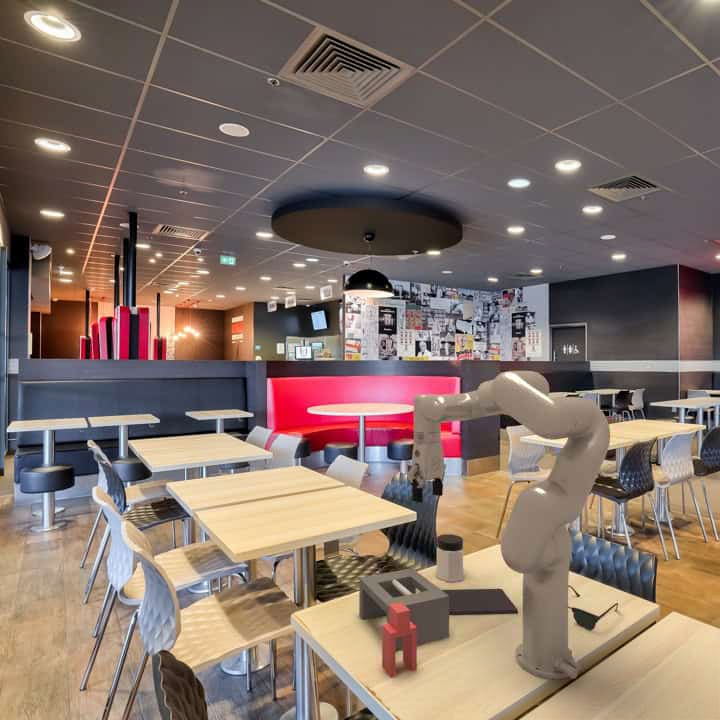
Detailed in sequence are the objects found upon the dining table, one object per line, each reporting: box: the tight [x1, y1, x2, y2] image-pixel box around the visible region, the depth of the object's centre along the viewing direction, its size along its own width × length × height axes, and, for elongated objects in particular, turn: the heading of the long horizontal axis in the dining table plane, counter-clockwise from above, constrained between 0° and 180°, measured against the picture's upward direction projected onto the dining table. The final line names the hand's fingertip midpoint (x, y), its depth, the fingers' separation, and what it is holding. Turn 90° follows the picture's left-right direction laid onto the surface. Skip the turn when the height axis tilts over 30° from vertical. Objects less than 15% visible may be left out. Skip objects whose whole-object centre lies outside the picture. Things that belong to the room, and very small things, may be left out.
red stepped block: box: [381, 602, 418, 678], centre depth 107 cm, size 4×6×13 cm, turn 114°
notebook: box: [441, 588, 519, 616], centre depth 136 cm, size 13×2×21 cm
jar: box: [436, 533, 464, 583], centre depth 154 cm, size 9×8×12 cm
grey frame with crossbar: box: [358, 568, 450, 652], centre depth 124 cm, size 18×16×10 cm
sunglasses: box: [568, 584, 619, 631], centre depth 132 cm, size 16×17×5 cm
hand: (427, 498), depth 138 cm, fingers open, 9 cm apart
